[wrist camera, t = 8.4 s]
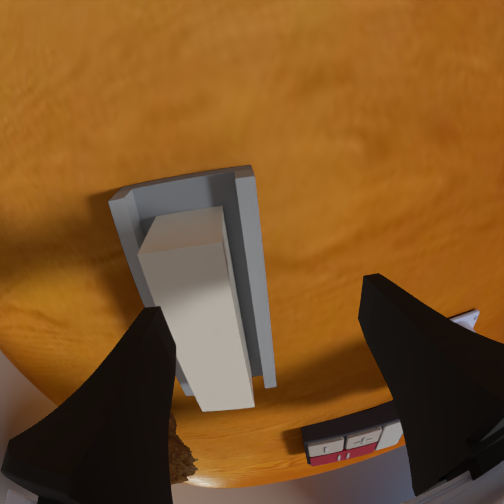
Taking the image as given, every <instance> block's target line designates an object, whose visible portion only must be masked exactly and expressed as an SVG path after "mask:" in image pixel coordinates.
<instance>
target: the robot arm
mask: <svg viewBox="0 0 504 504" xmlns="http://www.w3.org/2000/svg"><path fill="white" fill-rule="evenodd" d="M478 315H479V310H474V311H471V312H468V313H465V314H463V315H460V316H457V317H454V318H451V319H448V318H446V317H445V316H443V315H441V314H440V313H438V312H436V311H435V310H433V309H432V308H430V307H428V306H427V305H425V304H424V303H422V302H421V301H419V300H418V299H416V298H415V297H413V296H412V295H411V294H409V293H408V292H406V291H405V290H403V289H402V288H400V287H399V286H397V285H396V284H395V283H393V282H392V281H390V280H389V279H387V278H386V277H384V276H382V275H381V274H379V273H377V274H371V275H366V276H363V285H362V293H361V301H360V308H359V315H358V320H359V322H360V325H361V328H362V331H363V334H364V337H365V340H366V342H367V344H368V346H369V348H370V350H371V352H372V354H373V356H374V358H375V360H376V362H377V365H378V367H379V369H380V371H381V373H382V375H383V377H384V379H385V381H386V383H387V385H388V387H389V390H390V392H391V394H392V397H393V400H394V403H395V406H396V409H397V412H398V416H399V419H400V423H401V427H402V430H403V434H404V438H405V443H406V447H407V452H408V457H409V463H410V470H411V477H412V487H413V491H414V494H415V496H416V497H415V498H413V499H411V500H408V501H406V502H403V503H401V504H504V344H502V343H500V342H497V341H494V340H492V339H489V338H487V337H484V336H482V335H480V334H477V333H476V332H475V331H474V330H473V327H474V324H475V322H476V320H477V318H478ZM175 373H176V344H175V341H174V339H173V336H172V334H171V332H170V329H169V327H168V324H167V322H166V319H165V317H164V314H163V312H162V309H161V307H160V306H155V307H146V308H144V309H143V310H142V311H141V313H140V314H139V315H138V317H137V318H136V319H135V321H134V322H133V323H132V325H131V326H130V327H129V329H128V330H127V331H126V333H125V334H124V335H123V337H122V338H121V339H120V341H119V342H118V343H117V345H116V346H115V347H114V349H113V350H112V351H111V352H110V354H109V355H108V356H107V357H106V358H105V360H104V361H103V362H102V363H101V365H100V366H99V367H98V368H97V369H96V371H95V372H94V373H93V374H92V375H91V376H90V377H89V378H88V379H87V380H86V381H85V382H84V384H83V385H82V386H81V387H80V388H79V389H78V390H77V391H76V392H75V393H73V394H72V395H71V396H70V397H69V398H68V399H67V400H66V401H64V402H63V403H62V404H61V405H60V406H59V407H58V408H57V409H55V410H54V411H53V412H52V413H50V414H49V415H48V416H46V417H45V418H44V419H42V420H41V421H39V422H38V423H37V424H35V425H34V426H32V427H31V428H29V429H28V430H26V431H24V432H22V433H21V434H19V435H17V436H16V437H14V438H13V439H10V440H9V443H8V446H7V450H6V453H5V457H4V460H3V464H2V468H1V472H2V474H3V475H4V476H6V477H7V478H8V479H10V480H12V481H13V482H15V483H16V484H18V485H20V486H22V487H23V488H25V489H27V490H28V491H31V492H32V493H34V494H36V495H38V496H39V497H38V502H36V501H34V500H32V499H30V498H28V497H26V496H23V495H21V494H19V493H17V492H15V491H13V490H11V489H9V490H8V494H7V498H6V504H173V500H172V493H171V483H170V472H169V451H168V429H169V418H170V410H171V402H172V395H173V388H174V381H175ZM446 482H447V483H446ZM444 483H445V484H444ZM442 484H443V485H442ZM440 485H441V486H440ZM438 486H439V487H438ZM436 487H437V488H436ZM434 488H435V489H434ZM432 489H433V490H432ZM430 490H431V491H430ZM428 491H429V492H428ZM421 494H422V495H421ZM419 495H420V496H419ZM417 496H418V497H417Z"/></svg>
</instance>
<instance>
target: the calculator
mask: <svg viewBox="0 0 504 504" xmlns="http://www.w3.org/2000/svg"><path fill="white" fill-rule="evenodd" d="M301 429H302V436H303V443H304V448H305V453H306V458H307V463H308V464H311V466H317V465H323V464H328V463H332V462H337V461H342V460H346V459H350V458H354V457H358V456H362V455H365V454H369V453H372V452H373V451H374V450H379V449H382V448H386V447H389V446H392V445H395V444H397V442H398V441H399V440H400V438H401V436H402V434H403V430H402V427H401V423H400V419H399V416H398V412H397V409H396V406H395V403H394V400H392V401H389V402H386V403H384V404H381V405H378V406H377V407H376V408H372V409H369V410H365V411H361V412H358V413H354V414H350V415H347V416H343V417H339V418H336V419H332V420H328V421H324V422H320V423H316V424H312V425H308V426H304V427H302V428H301Z"/></svg>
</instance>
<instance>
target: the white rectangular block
mask: <svg viewBox="0 0 504 504" xmlns="http://www.w3.org/2000/svg"><path fill="white" fill-rule="evenodd" d="M137 255H138V258H139V261H140V264H141V267H142V270H143V273H144V276H145V278H146V281H147V284H148V287H149V290H150V292H151V295H152V298H153V300H154V303H155V306H160V307H161V309H162V312H163V314H164V317H165V319H166V322H167V324H168V327H169V329H170V332H171V334H172V336H173V339H174V341H175V344H176V357H177V359H178V361H179V363H180V366H181V368H182V370H183V372H184V374H185V377H186V379H187V381H188V383H189V385H190V387H191V389H192V391H193V393H194V395H195V398H196V400H197V402H198V404H199V406H200V408H201V410H202V412H205V411H220V410H232V409H242V408H251V407H255V404H254V395H253V385H252V376H251V366H250V359H249V354H248V349H247V343H246V338H245V333H244V327H243V322H242V316H241V310H240V305H239V299H238V294H237V288H236V282H235V276H234V271H233V265H232V259H231V253H230V247H229V241H228V235H227V229H226V223H225V217H224V210H223V206H217V207H210V208H203V209H197V210H190V211H184V212H178V213H172V214H166V215H160V216H156V218H155V220H154V222H153V224H152V226H151V228H150V230H149V232H148V234H147V236H146V238H145V240H144V242H143V244H142V246H141V248H140V250H139V252H138V254H137Z"/></svg>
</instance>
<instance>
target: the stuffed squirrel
mask: <svg viewBox="0 0 504 504" xmlns="http://www.w3.org/2000/svg"><path fill="white" fill-rule="evenodd" d="M176 426H177V425H176V421H175V418H174V416H173V414H172V413H170V418H169V429H168V451H169V472H170V483H171V485H172V484H176V483H182V482H185V481H188V479H187V478H186V477H187V476H190V475H194V474H195V471H196V470H198V468H196V467H195V465H193V462H195V461H197V460H198V459H194V458H193V456H191V455H192V454H191V453H192V451H190V450H189V449H190V448H188V447H187V446H186V445H184V443H183V442H182V440H180V438H179V437H178V435H176V431H175V430H176Z"/></svg>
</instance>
